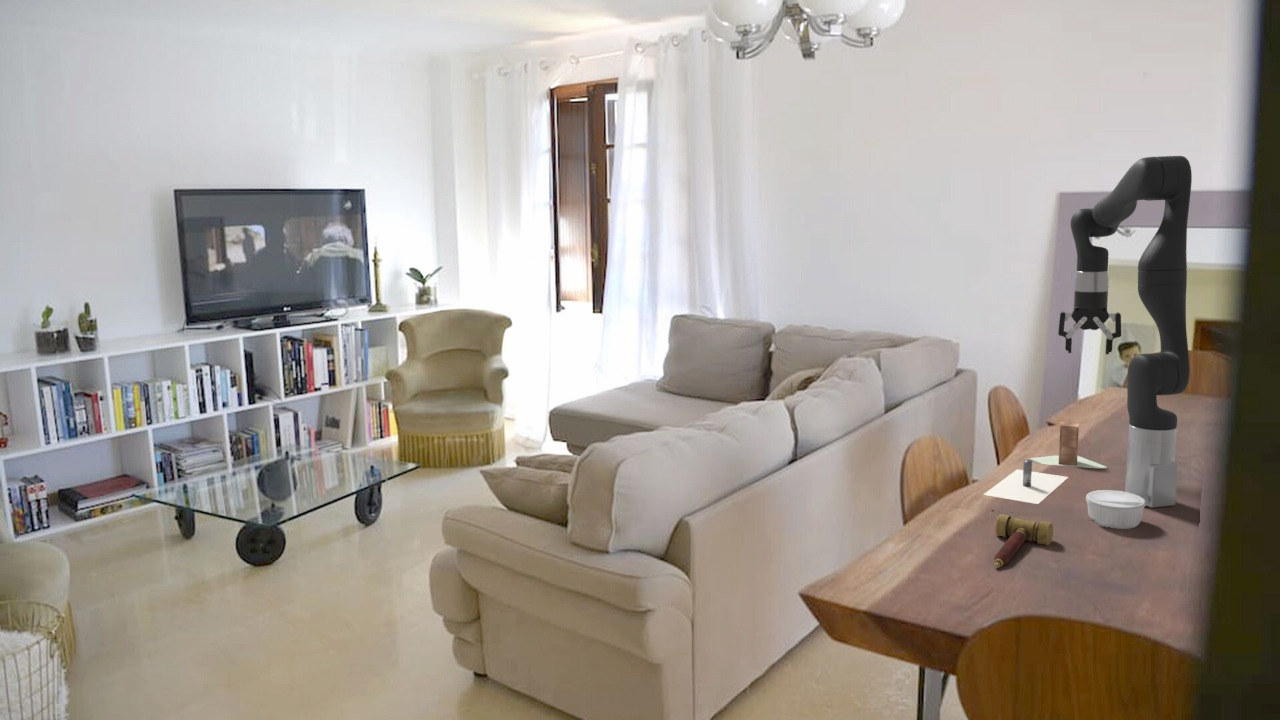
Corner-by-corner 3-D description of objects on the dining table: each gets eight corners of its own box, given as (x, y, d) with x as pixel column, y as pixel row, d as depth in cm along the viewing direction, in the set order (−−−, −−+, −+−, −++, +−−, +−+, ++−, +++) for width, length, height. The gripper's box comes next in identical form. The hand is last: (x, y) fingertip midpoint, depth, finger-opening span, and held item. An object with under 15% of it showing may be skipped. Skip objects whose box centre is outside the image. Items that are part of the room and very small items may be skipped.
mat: (1107, 468, 233) (1107, 467, 233) (1061, 473, 230) (1061, 472, 230) (1072, 455, 245) (1072, 453, 245) (1028, 459, 243) (1028, 458, 243)
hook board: (1037, 508, 206) (1039, 477, 205) (982, 498, 213) (983, 469, 212) (1068, 481, 224) (1069, 452, 223) (1016, 473, 232) (1017, 445, 230)
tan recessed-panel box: (1076, 461, 239) (1078, 422, 237) (1076, 465, 235) (1078, 426, 233) (1058, 459, 241) (1060, 421, 239) (1058, 464, 237) (1060, 425, 235)
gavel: (1024, 560, 170) (969, 549, 176) (1024, 583, 171) (969, 571, 177) (1053, 519, 187) (1002, 510, 192) (1053, 541, 188) (1001, 531, 194)
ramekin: (1111, 534, 190) (1113, 509, 189) (1072, 516, 200) (1073, 493, 200) (1156, 527, 193) (1158, 502, 192) (1116, 510, 203) (1117, 487, 202)
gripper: (1059, 290, 233) (1057, 354, 236) (1124, 290, 227) (1120, 356, 230) (1060, 287, 240) (1057, 350, 243) (1122, 288, 234) (1119, 352, 237)
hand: (1088, 353), depth 236 cm, fingers open, 8 cm apart
